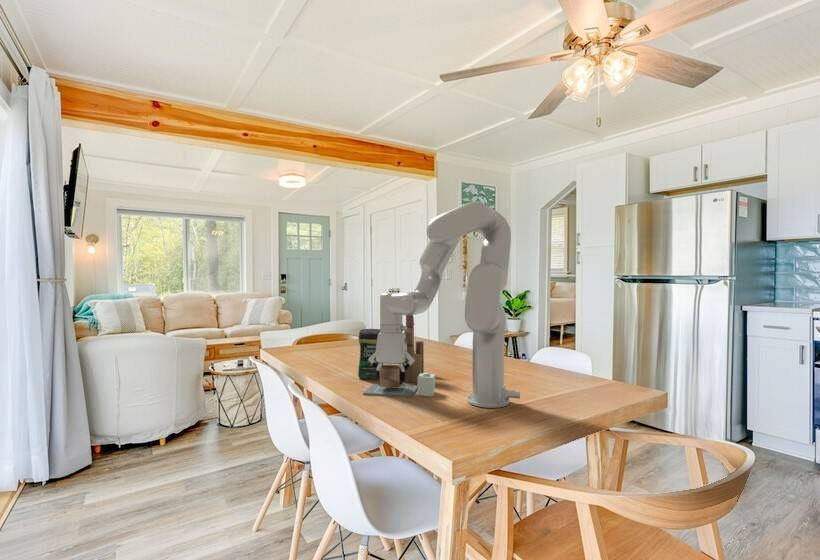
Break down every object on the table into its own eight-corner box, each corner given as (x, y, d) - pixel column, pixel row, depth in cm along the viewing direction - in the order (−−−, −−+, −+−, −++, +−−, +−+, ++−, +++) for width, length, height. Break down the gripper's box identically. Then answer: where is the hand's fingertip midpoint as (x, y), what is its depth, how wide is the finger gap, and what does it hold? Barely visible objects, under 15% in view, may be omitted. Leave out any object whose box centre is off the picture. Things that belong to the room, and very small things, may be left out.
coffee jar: (356, 380, 157) (356, 330, 157) (360, 375, 165) (359, 327, 164) (382, 380, 156) (382, 330, 156) (384, 375, 164) (384, 327, 164)
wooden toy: (421, 382, 152) (421, 313, 152) (402, 382, 153) (402, 313, 153) (424, 372, 168) (423, 310, 168) (407, 372, 168) (406, 310, 168)
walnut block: (402, 382, 144) (402, 364, 144) (398, 387, 138) (398, 369, 138) (384, 381, 145) (384, 364, 145) (379, 386, 139) (379, 368, 139)
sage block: (435, 392, 140) (434, 372, 140) (432, 396, 135) (432, 375, 135) (420, 391, 141) (420, 371, 141) (417, 395, 136) (417, 374, 136)
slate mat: (418, 387, 146) (418, 385, 146) (411, 397, 134) (411, 395, 134) (373, 385, 149) (373, 383, 149) (363, 394, 137) (363, 392, 137)
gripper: (418, 328, 143) (418, 380, 144) (369, 327, 147) (369, 378, 147) (414, 331, 136) (414, 386, 136) (363, 330, 139) (363, 384, 140)
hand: (391, 382), depth 142 cm, fingers closed on walnut block, 6 cm apart
